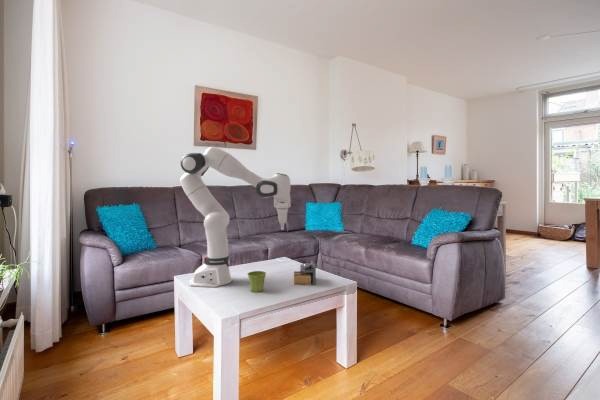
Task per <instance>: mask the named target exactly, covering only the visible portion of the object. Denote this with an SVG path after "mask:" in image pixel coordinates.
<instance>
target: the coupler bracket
mask: <svg viewBox="0 0 600 400" xmlns="http://www.w3.org/2000/svg"><path fill="white" fill-rule="evenodd" d="M299 270H300V271H302V273H307V272H310V273H311V285H312V286H316V285H317V283H316V279H317V275H316V274H317V267H316V264H315V261H314V260H310V262H305V263H303V264H300V269H299Z"/></svg>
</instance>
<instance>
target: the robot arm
mask: <svg viewBox="0 0 600 400" xmlns="http://www.w3.org/2000/svg"><path fill="white" fill-rule="evenodd" d="M180 167H181V169H182V171H184V172H185V173H184V174H182V175H181V176H180V178H179V182H180V183H179V184H180V185H181V188H182V189H183V192H184V194H185V195H186V196H187V198H188V199H189V201H190V202H191V203H192V206H194V208H195V209H196V210H197V211H198V212H199V213H200V214H201V215H202V216H203V217H204V220H203V228H204V232H205V233H204V234H205V238H206V244H207V246H206V247H207V248H206V249H207V251H206V253H207V255H204V258H203V264H201V265H200V266H199V267H198V268H197V269H195V271H194V273H193V277H192V278H191V279H190V280H189V281H188V286H189V287H202V288H203V287H204V288H205V287H206V288H207V287H208V288H218V287H221V286H223V285H227V284H229V283H231V282H232V281H233V278H232V276H231V272H230V255H229V240H228V239H229V238H228V235H227V227H228V225H229V224H230V219H231V218H230V215H229V212H227V211H226V210H225V209H224V206H222V205H221V203H220V202H218V200H217V199H216V198H215V197H214V196H213V194H212V192H211V190H210V189H208V186H206V184H205V182H204V181H203V180H202V177H203V176H204V174H205V173H206V172H207V171H208V170H209V168H212V169H214V170H215V171H217V172H219V173H220V174H222V175H224V176H227V177H229V178H235V179H239V180H242V181H244V182H246V183H248V184H250V185H251V186H253V187H254V188H255V192H256V194H257V195H258V196H259V197H261V198H263V199H265V198H267V199H268V198H272V197H273V208H275V209H276V211H277V218H278V223H279V224H280V230H281V231H284V230H285V224H287V219H288V211H289V208H291V207H292V206H291V179H290V177H289V176H288V175H287V174H284V173H279V172H278V173H277V172H276V173H274V175H272V176H270V177H268V178H263V177H261V176H260V175H257V174H256V173H254V172H253V171H251V170H249V169H248V168H247V167H246V166H245V165H244V164H243V163H242V162H240V161H239V159H238V158H236V157H235V156H233V155H232V154H230V153H229V152H227V151H225V150H223V149H221V148H219V147H216V146H209V147H208V148H207V149H206V150H205V151H204V152H203V153H200V152H189V153H186V154H184V155H183V156H182V157H181V159H180Z"/></svg>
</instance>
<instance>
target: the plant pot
mask: <svg viewBox="0 0 600 400" xmlns="http://www.w3.org/2000/svg"><path fill="white" fill-rule="evenodd" d="M266 275H267V272H266V271H261V270H253V271H250V272H248V273H247V276H248V281H249V286H250V292H253V293H260V292H263V290H264V286H265V279H266Z"/></svg>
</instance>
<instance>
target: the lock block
mask: <svg viewBox="0 0 600 400" xmlns="http://www.w3.org/2000/svg"><path fill="white" fill-rule="evenodd" d="M307 284H308V286H309V285H312V281H311V273H310V272H307V273H302V271H293V285H297V286H298V285H300V286H301V285H307Z"/></svg>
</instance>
